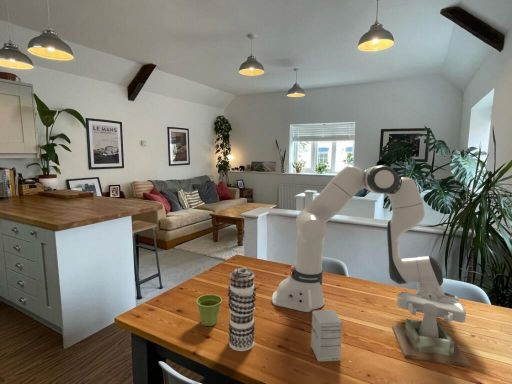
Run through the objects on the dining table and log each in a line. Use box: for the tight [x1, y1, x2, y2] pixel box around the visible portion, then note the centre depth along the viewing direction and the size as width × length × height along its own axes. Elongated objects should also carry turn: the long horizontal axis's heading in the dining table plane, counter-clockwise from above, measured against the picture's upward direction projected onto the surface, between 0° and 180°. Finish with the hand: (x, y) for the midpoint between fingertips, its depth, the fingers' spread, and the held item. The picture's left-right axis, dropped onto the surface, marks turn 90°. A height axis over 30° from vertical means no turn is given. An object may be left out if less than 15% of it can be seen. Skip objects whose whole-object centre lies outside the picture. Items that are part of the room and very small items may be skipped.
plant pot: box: [195, 293, 223, 327], centre depth 107 cm, size 9×9×9 cm
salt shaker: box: [418, 303, 439, 338], centre depth 94 cm, size 6×6×13 cm
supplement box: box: [310, 309, 343, 362], centre depth 90 cm, size 7×7×13 cm
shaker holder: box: [391, 318, 472, 368], centre depth 95 cm, size 18×16×6 cm
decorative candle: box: [227, 267, 257, 352], centre depth 94 cm, size 9×9×25 cm
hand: (429, 316), depth 94 cm, fingers open, 8 cm apart
